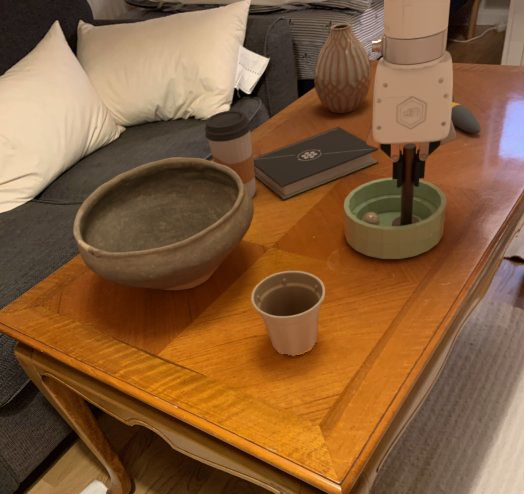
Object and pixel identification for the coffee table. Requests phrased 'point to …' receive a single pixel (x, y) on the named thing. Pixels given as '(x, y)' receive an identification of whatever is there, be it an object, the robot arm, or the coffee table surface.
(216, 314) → the coffee table surface
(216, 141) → the coffee cup
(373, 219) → the bead
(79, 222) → the bowl
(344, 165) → the book
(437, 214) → the green round dish
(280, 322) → the flower pot
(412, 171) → the stick
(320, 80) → the vase
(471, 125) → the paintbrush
